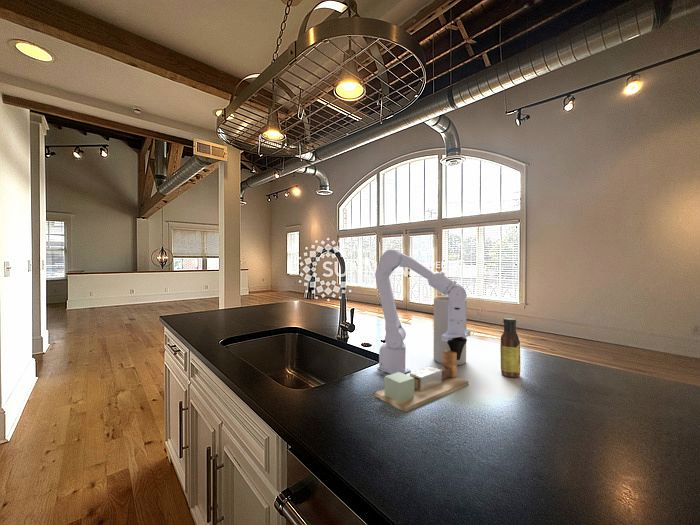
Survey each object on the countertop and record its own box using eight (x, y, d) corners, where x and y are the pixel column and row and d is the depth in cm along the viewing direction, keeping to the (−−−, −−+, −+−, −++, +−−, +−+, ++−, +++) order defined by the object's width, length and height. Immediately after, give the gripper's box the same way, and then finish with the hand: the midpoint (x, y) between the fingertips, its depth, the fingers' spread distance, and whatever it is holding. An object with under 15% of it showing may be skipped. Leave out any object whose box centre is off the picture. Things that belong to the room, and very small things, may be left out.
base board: (374, 396, 91) (375, 392, 91) (437, 373, 109) (437, 370, 109) (405, 412, 81) (405, 407, 81) (468, 384, 100) (468, 381, 100)
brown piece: (408, 387, 94) (408, 360, 94) (446, 373, 106) (446, 349, 106) (418, 391, 91) (418, 364, 90) (456, 376, 102) (456, 352, 102)
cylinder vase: (427, 357, 128) (428, 297, 128) (453, 354, 131) (453, 296, 131) (445, 367, 116) (446, 301, 116) (473, 364, 120) (473, 300, 119)
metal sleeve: (409, 387, 94) (409, 373, 94) (430, 379, 101) (430, 366, 101) (421, 392, 91) (421, 377, 91) (441, 384, 97) (441, 370, 97)
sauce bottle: (524, 378, 105) (524, 320, 105) (505, 378, 105) (506, 320, 105) (514, 371, 112) (514, 317, 112) (496, 371, 112) (497, 317, 112)
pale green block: (384, 394, 89) (384, 376, 89) (398, 389, 93) (399, 371, 93) (399, 402, 84) (399, 382, 84) (414, 396, 88) (414, 377, 88)
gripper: (454, 324, 98) (454, 366, 98) (478, 319, 107) (478, 358, 107) (436, 320, 104) (435, 360, 104) (460, 316, 112) (460, 353, 113)
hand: (456, 359), depth 106 cm, fingers closed
